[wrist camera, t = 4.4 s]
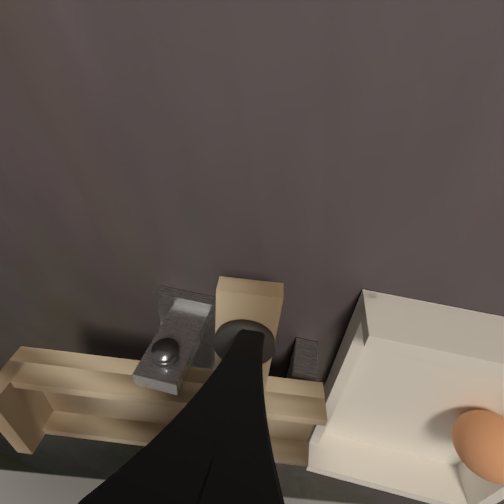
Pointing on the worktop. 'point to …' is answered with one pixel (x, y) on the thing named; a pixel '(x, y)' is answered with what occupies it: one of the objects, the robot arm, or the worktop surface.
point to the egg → (481, 443)
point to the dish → (409, 398)
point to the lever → (149, 400)
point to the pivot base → (197, 343)
